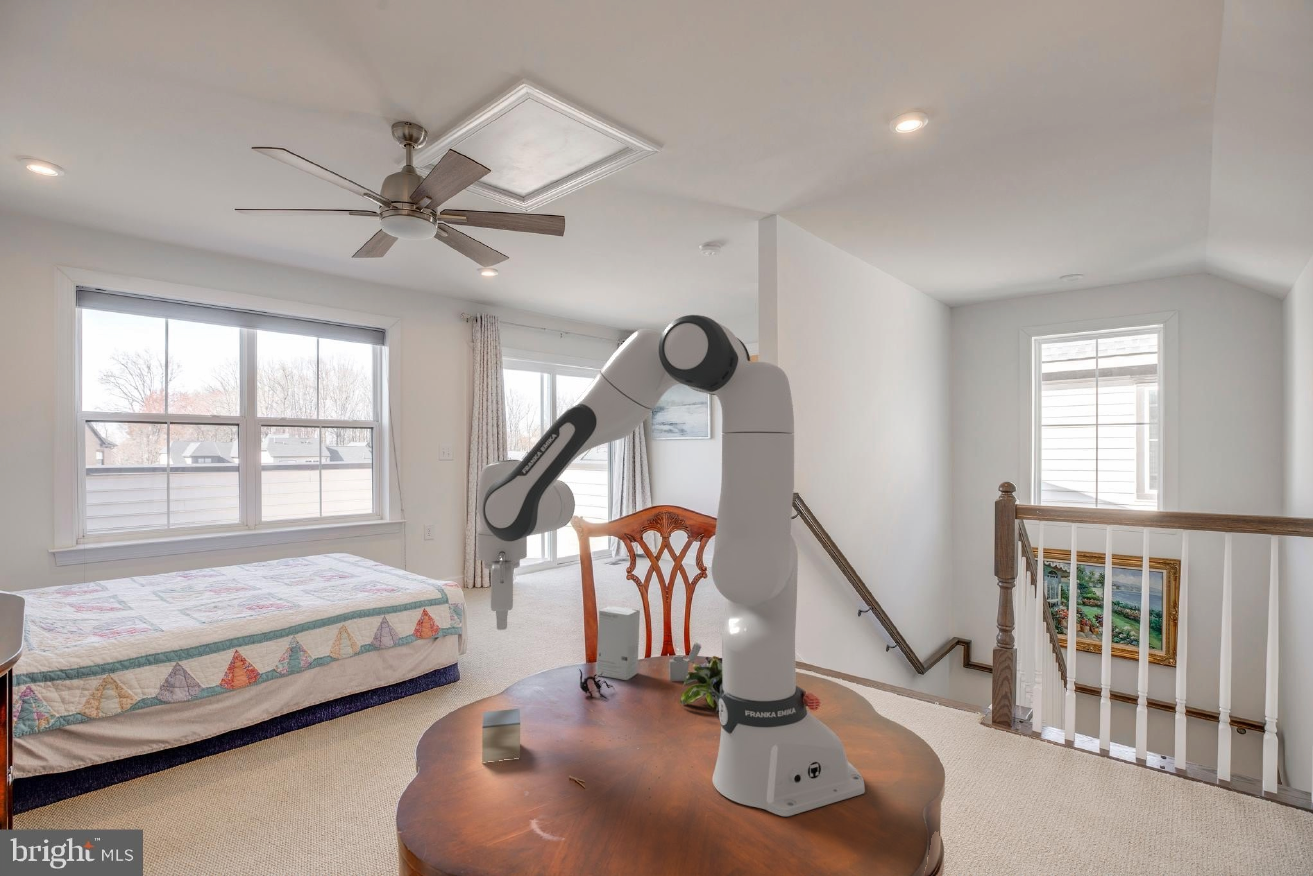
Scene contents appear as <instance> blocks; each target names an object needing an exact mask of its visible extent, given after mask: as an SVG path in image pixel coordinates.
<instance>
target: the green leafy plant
mask: <svg viewBox="0 0 1313 876" xmlns="http://www.w3.org/2000/svg"><path fill="white" fill-rule="evenodd" d="M705 660H706V663H705V662H700V664H698V665H697V664H693V666H692V669H693V671H689V670H688V677H686V678H687V679H686V680H685V681H683V686H684V687H685V686H687V684H690V683H693V682H695V681H697V682H696V683H693V684H692V685H690V686H689V687H688V688H686V689H685V691H684V692H683V693H682V695H681V697H680V699H679V703H680V704H682V705H683V706H686V704H687V705H689V704H691V703H693V702H695V701H696V700H697V701H698V700H699V699H700V698H702V697H704V696H705V699H706V701H707V703H708V705H710V706H711V707H712V708H715V704H714V703H716V709H715V711H714V714H715V715H716V714H717V712H718V711H719V699H720V685H721V684H722V657H719V656H717V655H712V657H709V656H705Z"/></svg>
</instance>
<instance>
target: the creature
mask: <svg viewBox="0 0 1313 876" xmlns="http://www.w3.org/2000/svg"><path fill="white" fill-rule="evenodd" d="M578 671H579V673H580V677H579V681H580V683H579V688H580V689H581V691H582V692H584V693H585V694H586V695H587V694H588V693H589V694H590V698H591V699H594V698H595V696H593V693H592V692H593V691H594V690H591V691H590V688H589V683H588V681H589V680H592V681H593V685H594V686H595V688H596V689H597V690H598V691H596V692H597V693H598V694H599V695H600V696H599V698H600V697H601V698H604V699H606V700H609V698H607V697H605V695H603V694H602V692H601V691H602V687H603V684H605V686H606V688H607V689H611V688H613V690H614V691H616V689H615V688H614V686H613V685H612V684H608V682H607V681H606V680H603V681H601V680H602V679H598V678H599V677H601V676H600V675H602V673H603V672H604V671H603V672H602V673H601V674H600V675H599V676H597V674H596V673H595V674H594V675H593V676H592V675H590V676H587V677H585V678H584V679H583V672H582V670H581V669H578ZM596 676H597V677H596ZM596 679H598V680H596Z"/></svg>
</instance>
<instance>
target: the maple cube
mask: <svg viewBox="0 0 1313 876" xmlns="http://www.w3.org/2000/svg"><path fill="white" fill-rule="evenodd" d="M520 713H521V712H520V708H514V709H513V708H512V709H504V710H503V709H502V710H491V711H484V712H483V714H482V715H483V716H482V733H481V735H482V736H481V738H482V741H481V742H482V743H481V744H482V745H481V748H482V749H481V750H482V751H481V755H482V756H481V757H482V758H481V760H482V761H481V762H482V763H483V762H488V761H499V760H504V759H514V758H520V759H521V714H520ZM482 763H481V764H482Z"/></svg>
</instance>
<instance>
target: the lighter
mask: <svg viewBox="0 0 1313 876" xmlns="http://www.w3.org/2000/svg"><path fill="white" fill-rule="evenodd" d="M701 648H702V645H701V644H700V643H698V642H694V644H693V646H692V648H691V650H690V652H689V654H688V656H687V658H684V655H683V654H681V655H680V654H678V655H677V654H676V655H675V654H674V656H672V659H669V666H668V667H669V668H668V670H669V671H668V673H669V675H668V677H669V678H668V679H669V682H685V680H686V679H687V678H686V677H689V674H688V671H689V663H691V664H695V662H696V660H697V657H698V656H699V653H700V651H701Z"/></svg>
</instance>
